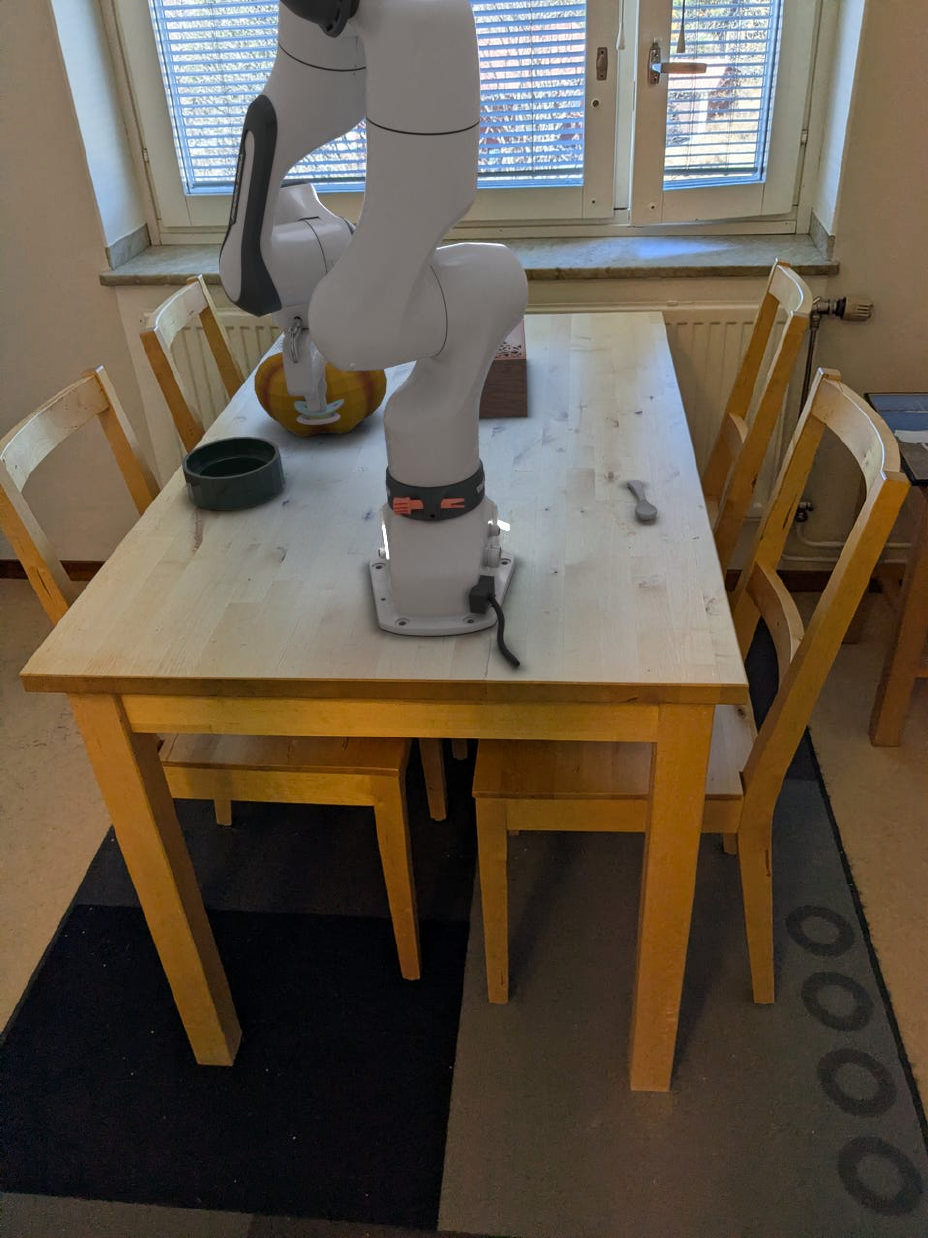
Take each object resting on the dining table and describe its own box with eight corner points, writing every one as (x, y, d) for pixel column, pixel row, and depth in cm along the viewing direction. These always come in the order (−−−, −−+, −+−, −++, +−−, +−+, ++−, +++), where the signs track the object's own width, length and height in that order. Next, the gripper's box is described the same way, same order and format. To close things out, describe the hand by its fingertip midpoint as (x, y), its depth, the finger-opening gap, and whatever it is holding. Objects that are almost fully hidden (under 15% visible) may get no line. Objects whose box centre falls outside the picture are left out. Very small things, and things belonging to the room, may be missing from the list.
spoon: (637, 524, 132) (637, 510, 131) (622, 489, 143) (622, 476, 142) (659, 523, 132) (660, 509, 131) (643, 488, 143) (643, 475, 142)
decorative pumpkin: (390, 442, 159) (380, 352, 150) (254, 452, 159) (236, 363, 150) (391, 395, 175) (382, 311, 167) (268, 404, 175) (253, 321, 167)
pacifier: (340, 427, 141) (348, 410, 146) (334, 385, 138) (342, 369, 142) (291, 428, 142) (299, 412, 147) (283, 387, 138) (292, 371, 143)
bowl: (275, 511, 142) (269, 476, 139) (179, 514, 142) (170, 480, 139) (292, 467, 153) (286, 434, 150) (203, 471, 154) (195, 438, 151)
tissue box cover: (527, 416, 164) (526, 358, 159) (441, 420, 165) (437, 362, 160) (524, 361, 186) (523, 309, 180) (448, 365, 186) (444, 312, 181)
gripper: (313, 329, 127) (328, 429, 135) (335, 286, 144) (347, 377, 152) (265, 332, 127) (283, 432, 135) (292, 288, 144) (307, 379, 152)
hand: (317, 402), depth 143 cm, fingers closed on pacifier, 3 cm apart
